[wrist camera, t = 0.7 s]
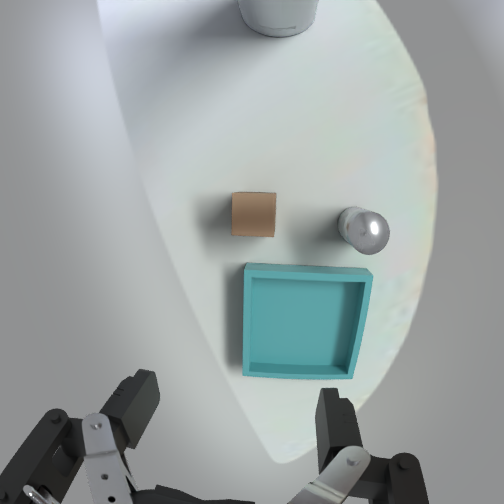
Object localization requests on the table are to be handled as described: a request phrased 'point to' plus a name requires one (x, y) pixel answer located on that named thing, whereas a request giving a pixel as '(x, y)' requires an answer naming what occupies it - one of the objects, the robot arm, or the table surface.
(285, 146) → the table surface
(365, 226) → the metal cylinder
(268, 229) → the walnut block
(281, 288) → the parts tray
